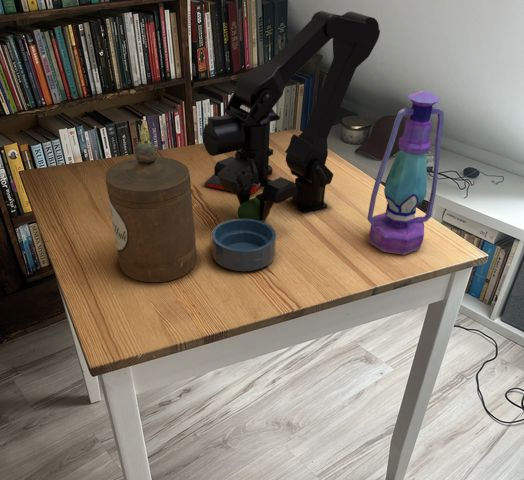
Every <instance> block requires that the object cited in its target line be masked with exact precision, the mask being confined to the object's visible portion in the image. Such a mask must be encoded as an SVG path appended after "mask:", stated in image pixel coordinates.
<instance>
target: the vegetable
mask: <svg viewBox="0 0 524 480" xmlns="http://www.w3.org/2000/svg"><path fill="white" fill-rule="evenodd" d="M139 138H140V140H139V141H138V142H137V143H136V145H135V148H134V158H136V155H137V153H138V152H139V151H140V150H142V149H150V150H151V151H153V152H154V153H155V154H156V155H157V150H156V147H155V145H154V144H153V142H151V141H150V138H151V135H150V132H149V128H148V124H147V123H146V121H145V120H143V119H141V125H140V133H139Z"/></svg>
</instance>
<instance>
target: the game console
mask: <svg viewBox="0 0 524 480" xmlns="http://www.w3.org/2000/svg"><path fill="white" fill-rule="evenodd" d="M268 168H270V169H272V170H273V167H272V165H270V164H269V165H268ZM270 177H271V175H269V176H268V178H270ZM204 185H205V186H206V187H207V188H212V189H216V190H222V191H227V192H229V191H228V190H226V189H223V188H222V186H221V183H220V180H219V177H217V176H215V173H213V174H212V176H210V177H209V178H208V179H207V180H206V181H205V182H204ZM260 187H261V186H257V185H255V184H253V185H252V188H251V195H252V194H254V193H255V192H257V190H258V189H259V188H260Z"/></svg>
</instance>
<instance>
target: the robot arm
mask: <svg viewBox="0 0 524 480" xmlns="http://www.w3.org/2000/svg"><path fill="white" fill-rule="evenodd" d="M380 35H381V30H380V25H379V22H378V20H377V19H376V18H375V17H372V16H368V15H365V14H361V13H359V12H355V11H347V12H345V13H344V14H341V15H340V14H336V13H332V12H331V13H330V12H327V11H324V10H319V11H316V12H315V13H314V14H313V15H312V16H311V20H309V22H308V23H307V24H305V26H303V28H302V29H300V30H299V31H298V32H297V33H296V34H295V35H294V36H293V37H292V38H291V39H290V40H289V41H288V42H287V43H286V44H285V45H284V46H283V47H282V48H281V49H280V50H279V51H278V52H277V53H276V54H275V55H274V56H273V57H271V59H270V60H268V61H266V62H265V63H263V64H260V65H257V66H255V67H253V68H251V69H250V70H249V71H247V72H246V73H244V74H243V75H241V76H240V77H239V79H238V80H237V82H236V83H235V89H234V91H233V93H232V95H231V96H230V99H229V100H228V102H227V104H226V106H225V108H224V110H223V111H224V113H225V114H224V115H218V116H217V115H215V116H214V115H213V116H208V117H207V123H206V124H205V126H204V128H203V131H202V133H201V135H202V137H201V138H202V142H203V145H204V146H203V147H204V148H205V151H206V153H208V155H210V156H211V157H216V156H220V155H225V154H227V153H233V152H235V153H234V156H233V155H231V156H228V157H227V158H224V159H221V160H218V161H217V162H216V163H215V165H214V167H213V171H214V173H213V174H215V176H217V177H219V180H220V183H221V186H222V188H223V189H226V190H228V191H227V192H230V193H232V194H234V195H236V198H237V201H238V204H239V206H240V205H241V204H242V203H244V202H246V201H248V200H250V199H251V195H252V194H251V188H252V185H253V184H255V185H257V186H260V187H261V188H262V190H261V192H260V193H258V194H255V197H256V198H257V199H258V200H259V201H260V221H262V222H265V220H266V218H267V217H268V216H269V215H268V213H269V214H270V212H271V210H272V207H274V204H281V203H283V202H285V201H287V200H289V201H290V203H292V204H293V205H294V206H295V207H296V208H297V209H298V210H300V212H302V213H308V212H314V211H318V210H323V209H327V208H328V204H327V203H326V202H325V192H326V186H327V185H330V184H331V183H332V181H333V178H334V173H333V172H332V171H331V170H330V169H329V168H328V167H327V165H326V162H327V160H328V156H329V151H328V149H329V148H328V138H329V135H330V132H331V131H332V128H333V125H334V123H335V121H336V118H337V115H338V113H339V111H340V108H341V105H342V104H343V101H344V98H345V96H346V94H347V92H348V89H349V86H350V84H351V81H352V80H353V77H354V74H355V72H356V70H357V68H358V67H359V66H360V65H362V64H363V63H364V62H365V61H366V60H367V59H368V58H369V57H370V55H371V53H372V52H373V50H374V48H375V46H376V45H377V42H378V40H379V38H380ZM330 40H332V61H331V63H330V66H329V69H328V71H327V74H326V76H325V79H324V80H323V81H324V82H323V84H322V87H321V89H320V91H319V94H318V97H317V99H316V102H315V104H314V107H313V109H312V112H311V115H310V116H309V119H308V121H307V125H306V127H305V129H304V130H303V131H302V132H301V133H299V135H298V134H297V135H296V134H295V133H294V134H293V135H292V136H291V137H290V140H289V145H288V147H287V149H285V151H284V152H285V154H286V155H285V163H286V165H287V167H288V169H289V170H290V174H291V175H292V176H295V177H294V181H292V180H290V179H287V178H285V177H282V176H280V177H278V178H275V179H270V178H269V177H270V176H272V175H273V168H272V169H270V168H268V165H270V163H269V161H270V157H271V156H273V155H274V149H273V148H270V137H271V136H270V129H271V122H276V121H279V120H280V119H281V117H280V115H279V114H277V113H276V111H275V110H274V107H275V106H276V104H277V103H278V102H279V100H280V99H281V98H282V97H283V94H284V91H285V88H286V85H287V84H288V82H289V81H290V80H291V79H292V78H293V77H294V76H295V75H296V74H297V73H298V72H299V71H300V70H301V69H302V68H303V67H304V66H305V65H306V64H307V63H308V62H309V61H311V59H312V58H313V57H314V56H315V55H316V54H317V53H318V52H319V51H320V50H321V49H322V48H323V47H325V46H326V44H328V42H330ZM242 106H243V107H245V108H247V109H249V112H248V110H245V109H243V108H242ZM269 175H270V176H269ZM268 176H269V177H268ZM226 190H225V191H226ZM269 211H270V212H269ZM267 215H268V216H267Z"/></svg>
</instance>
